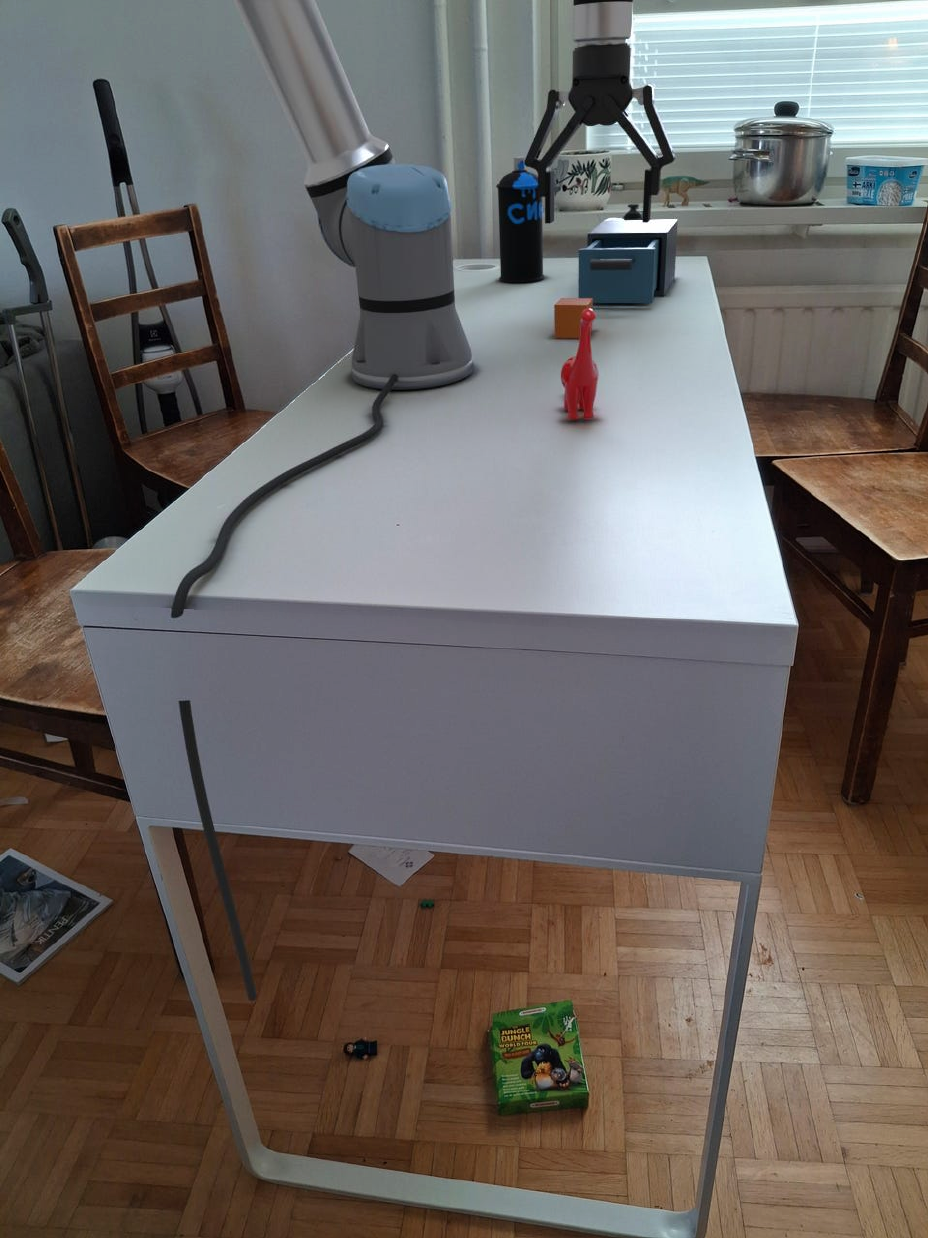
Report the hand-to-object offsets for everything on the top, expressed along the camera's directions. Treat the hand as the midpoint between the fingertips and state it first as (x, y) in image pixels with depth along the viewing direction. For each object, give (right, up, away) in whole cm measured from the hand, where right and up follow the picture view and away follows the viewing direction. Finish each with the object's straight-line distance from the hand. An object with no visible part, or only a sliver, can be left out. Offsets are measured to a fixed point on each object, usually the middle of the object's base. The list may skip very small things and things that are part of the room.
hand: (597, 222), depth 131 cm
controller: (+15, +15, +53) cm, 57 cm away
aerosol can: (-8, +6, +39) cm, 41 cm away
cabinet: (+10, +1, +27) cm, 29 cm away
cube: (-3, -16, 0) cm, 16 cm away
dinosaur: (-6, -34, -31) cm, 47 cm away
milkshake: (+8, +8, +41) cm, 42 cm away
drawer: (+6, -5, +16) cm, 18 cm away
